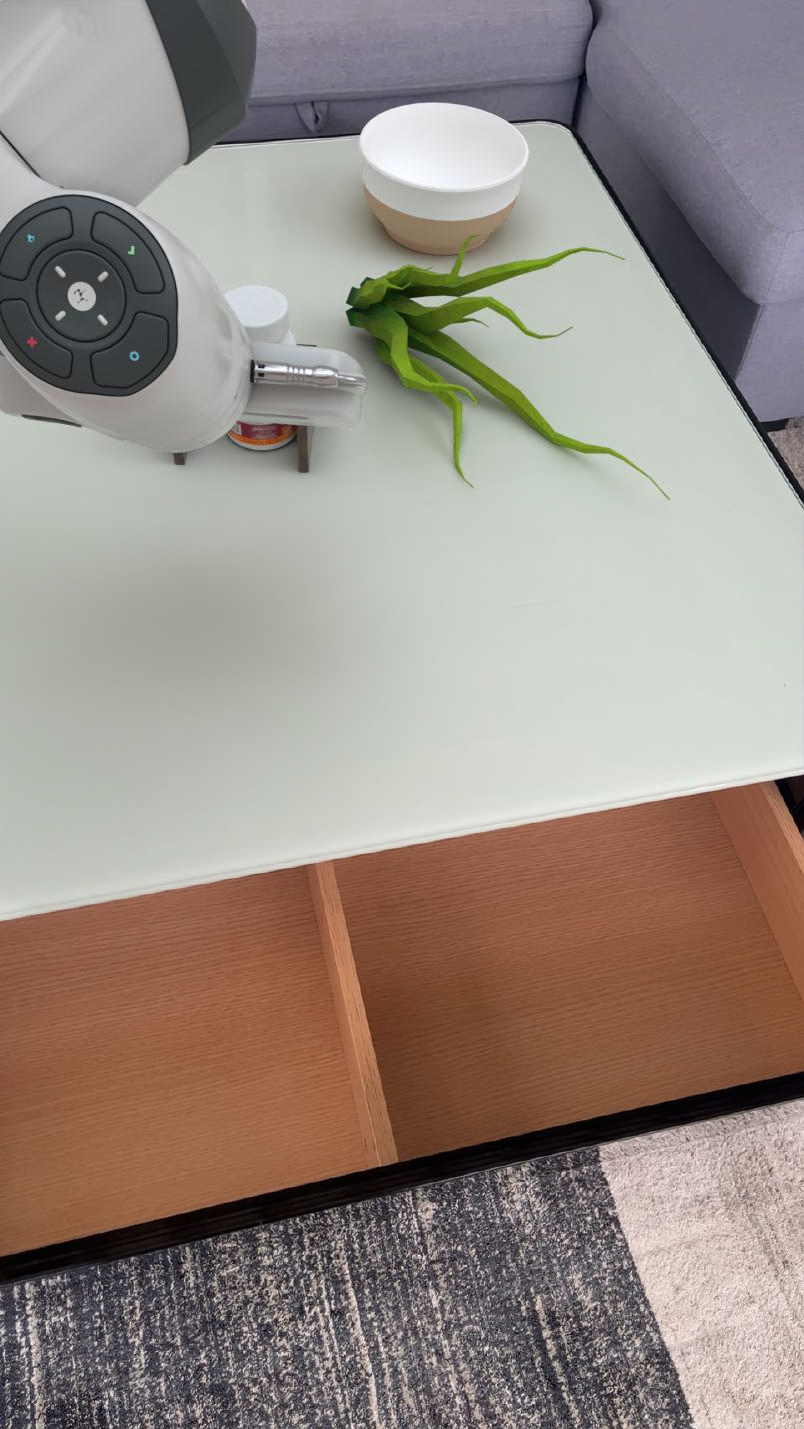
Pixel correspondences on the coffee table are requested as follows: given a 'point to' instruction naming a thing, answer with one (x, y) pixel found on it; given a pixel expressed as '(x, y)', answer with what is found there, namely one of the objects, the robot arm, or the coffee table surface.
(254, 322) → the pill bottle
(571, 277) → the coffee table surface
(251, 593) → the coffee table surface
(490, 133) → the bowl
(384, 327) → the decorative plant
